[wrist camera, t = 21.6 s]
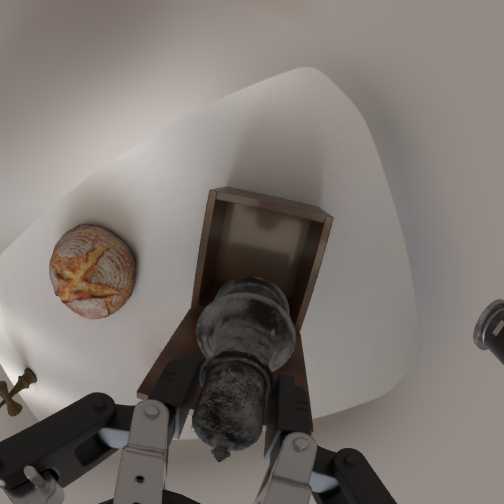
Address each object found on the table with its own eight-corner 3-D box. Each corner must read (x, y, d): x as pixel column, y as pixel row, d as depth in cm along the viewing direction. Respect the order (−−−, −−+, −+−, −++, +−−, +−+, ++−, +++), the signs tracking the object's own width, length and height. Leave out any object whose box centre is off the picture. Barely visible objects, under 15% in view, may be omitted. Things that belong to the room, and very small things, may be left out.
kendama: (34, 385, 59) (1, 421, 39) (20, 360, 56) (-18, 394, 37) (44, 387, 58) (9, 426, 39) (29, 362, 55) (-10, 398, 36)
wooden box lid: (136, 391, 18) (139, 429, 19) (313, 430, 18) (293, 464, 19) (189, 308, 33) (185, 343, 34) (300, 333, 33) (288, 366, 34)
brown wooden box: (225, 186, 39) (209, 189, 30) (319, 207, 39) (333, 217, 29) (208, 281, 43) (190, 309, 34) (294, 300, 43) (299, 334, 33)
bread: (158, 289, 45) (135, 320, 36) (86, 316, 49) (60, 343, 39) (115, 202, 41) (80, 215, 31) (49, 246, 44) (16, 263, 35)
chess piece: (214, 345, 20) (163, 481, 9) (204, 272, 19) (115, 395, 7) (293, 345, 19) (299, 493, 8) (293, 270, 18) (312, 411, 6)
